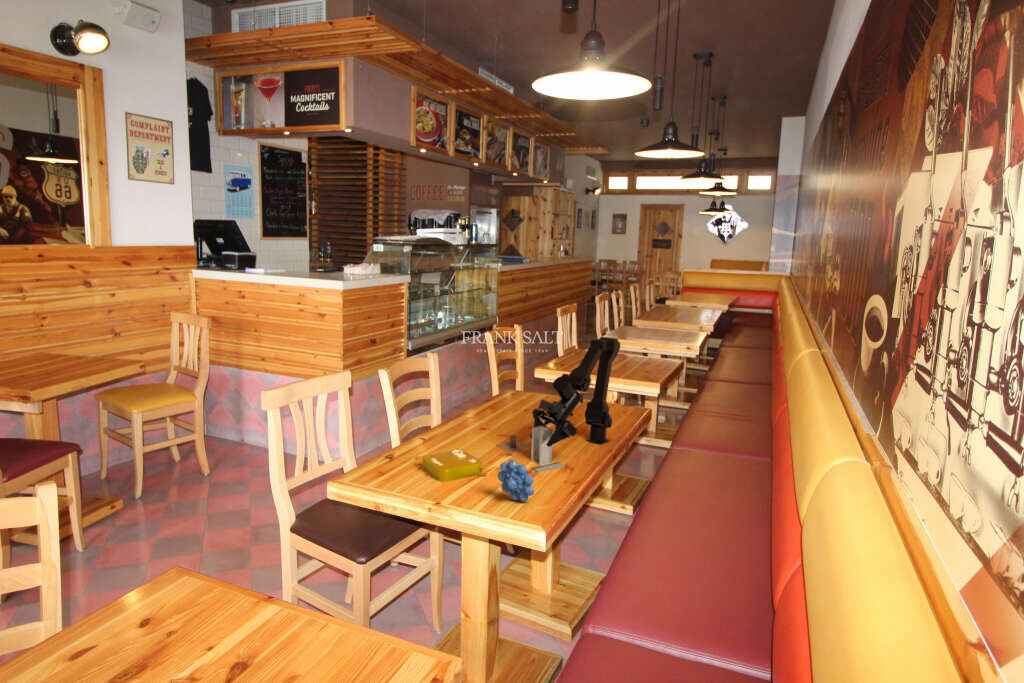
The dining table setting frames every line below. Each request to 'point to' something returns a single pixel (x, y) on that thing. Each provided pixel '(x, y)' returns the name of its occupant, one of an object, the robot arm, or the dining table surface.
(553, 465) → the slate mat
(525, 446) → the walnut stand
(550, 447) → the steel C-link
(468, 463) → the element tile
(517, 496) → the blue ball cluster
